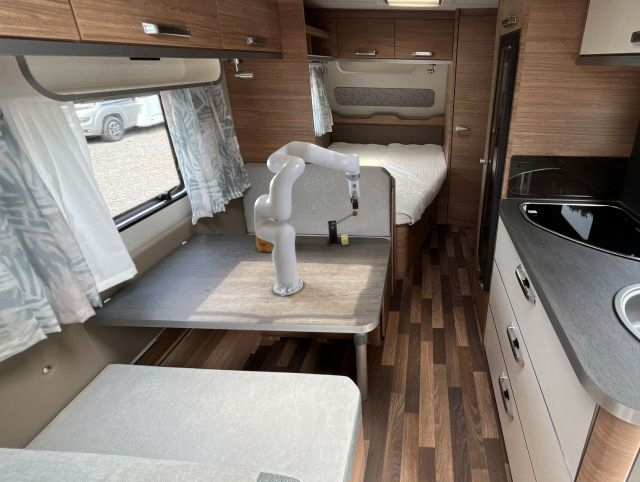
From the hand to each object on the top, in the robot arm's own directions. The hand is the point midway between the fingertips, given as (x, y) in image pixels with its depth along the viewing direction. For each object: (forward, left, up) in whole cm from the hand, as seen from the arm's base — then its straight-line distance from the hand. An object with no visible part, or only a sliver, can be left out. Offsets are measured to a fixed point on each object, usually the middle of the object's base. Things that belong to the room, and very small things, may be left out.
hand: (354, 205), depth 187 cm
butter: (-2, +7, -22) cm, 23 cm away
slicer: (0, +13, -22) cm, 25 cm away
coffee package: (+2, +47, -22) cm, 52 cm away
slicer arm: (0, +6, -9) cm, 11 cm away
